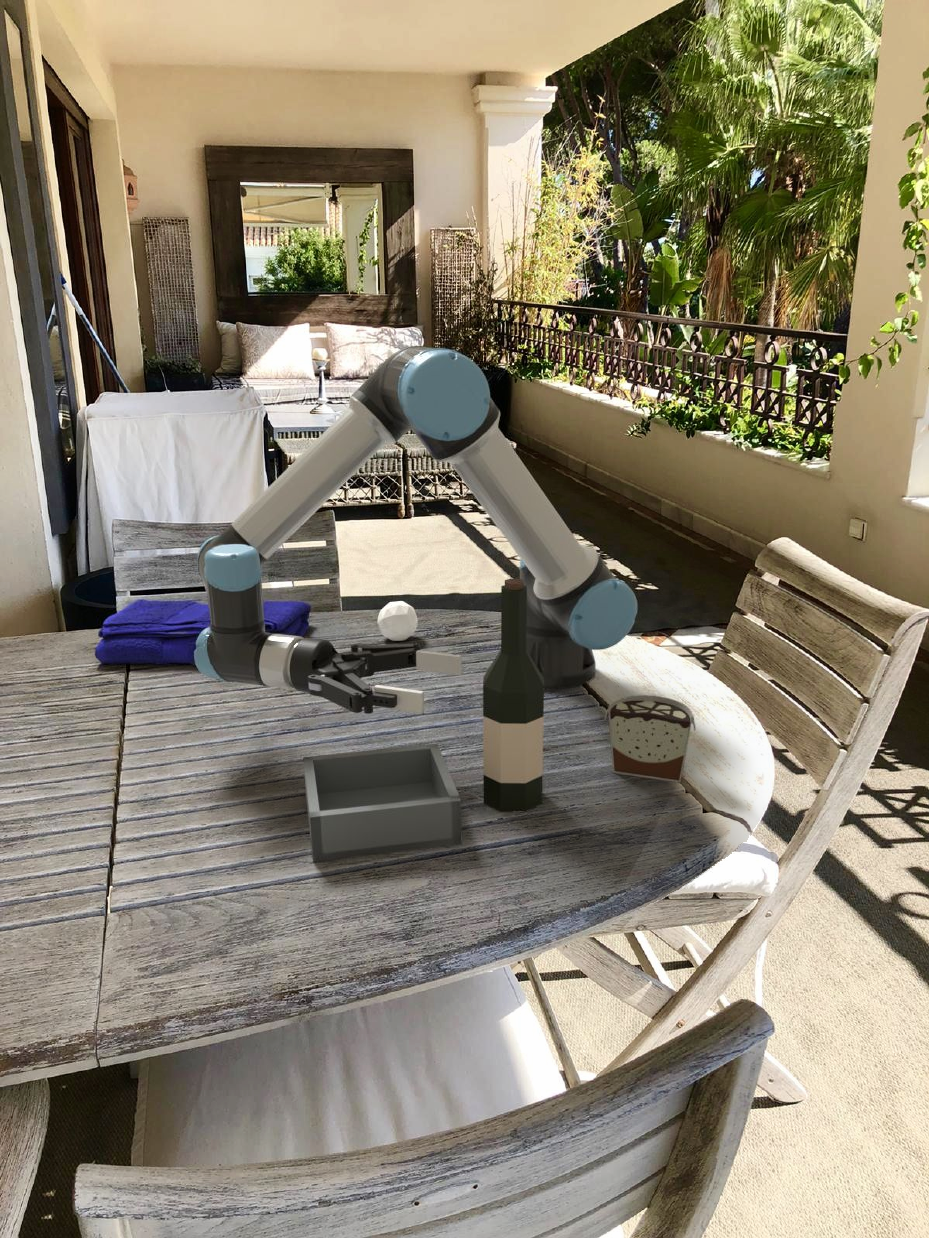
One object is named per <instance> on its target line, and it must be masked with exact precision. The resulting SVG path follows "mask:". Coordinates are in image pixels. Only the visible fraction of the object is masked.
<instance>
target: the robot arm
mask: <svg viewBox="0 0 929 1238" xmlns="http://www.w3.org/2000/svg"><path fill="white" fill-rule="evenodd" d="M490 391H491V390H490V386H489V382H488V380H487V378H486V375H485V374H484V372H483V371H482V369H481V368H480V367H479V365H477V364H476V363H475V362H474V361H473V360H472V359H471V358H470V357H468V356H466V355H464V354H462V353H461V352H459V351H457V350H453V349H449V348H444V347H435V348H434V347H429V346H424V345H412V346H407V347H404V348H402V349H399V350H398V351H396V352H394V353H393V354H392V355H390V356H389V357H388V358H386V360H385V361H384V362H383V363H381V364H380V365H379V366H378V368H377V369H376V370H375V371H374V372H373V373H371V374H370V376H369V377H368V378H367V379H366V380H365V381H364V382H363V383H362V384H361V385H360V386H359V387H358V388H357V389H356V390H355V392H353V393H352V395H350V397H349V398H348V399H349V406H348V407H347V409H346V410H345V411H344V412H343V413H342V414H341V415H340V416H339V417H338V418H337V419H336V420H334V422H332V424H331V425H330V426H329V427H328V428H327V429H326V430H325V431H324V432H322V434H321V435H320V436H319V437H317V438H316V440H314V442H313V443H311V445H310V446H309V447H308V448H306V449H305V451H304V452H302V453H301V454H300V455H299V456H298V457H297V458H296V459H295V461H293V462H292V464H290V466H288V467H287V468H286V469H285V470H284V471H283V472H282V473H281V475H279V476H278V478H276V479H275V480H274V481H273V482H272V483H271V484H270V485H269V486H268V487H267V488H266V489H265V490H264V491H263V492H262V493H261V494H260V495H259V496H258V497H257V498H256V499H255V500H254V501H253V502H252V503H251V504H250V505H249V506H248V507H247V508H246V509H245V510H243V512H242V513H240V515H239V516H237V518H236V519H235V520H234V521H232V523H231V524H230V525H229V526H227V528H225V529H224V530H223V531H222V532H221V534H218V535H214V536H212V537H210V538H207V540H205V541H204V542H203V543H202V544H201V546H200V547H199V550H198V552H197V560H196V565H197V566H196V568H197V571H198V574H199V576H200V577H201V579H202V583H203V586H204V589H205V592H206V596H207V604H208V606H209V614H210V627H208V628H206V629H204V630H203V631H202V632H201V633H200V635H199V636H198V638H197V641H196V646H197V647H196V650H195V651H194V659H195V663H196V665H195V666H196V669H198V671H199V672H200V673H201V674H202V675H203V676H205V677H207V678H211V679H216V680H220V681H224V682H227V683H239V684H240V683H241V684H249V685H256V686H263V687H269V688H276V689H280V691H283V692H287V690H290V691H291V690H292V691H298V692H300V693H309V695H310V696H315V697H319V698H323V699H325V700H327V701H329V702H331V703H333V704H335V705H338V706H340V707H342V708H344V709H345V710H348V711H350V712H352V713H354V714H359V713H362V712H364V714H367V715H369V714H373V712H374V707H375V708H381V709H383V708H384V709H387V710H388V709H391V710H396V711H404V712H408V713H409V712H410V713H417V714H423V713H424V712H425V692H424V691H423V690H416V689H409V688H401V687H392V686H387V685H380V684H376V685H375V686H374V688H372V686H370V685H369V684H368V683H366V682H365V681H363V678H368V677H372V676H373V675H375V673H381V672H386V671H395V670H404V669H409V668H411V669H412V668H416V669H415V670H416V671H421V672H429V673H438V674H445V675H453V676H459V677H460V676H461V675H462V674H463V671H462V670H463V669H462V661H463V659H462V655H461V654H454V653H453V654H452V653H447V652H446V653H444V652H437V651H430V650H429V651H428V650H421V644H420V643H417V642H414V643H397V644H395V643H394V644H393V643H391V644H373V645H372V644H371V645H369V644H368V645H365V644H352V645H350V650H349V651H343V652H338V650H336V649H335V647H334V645H333V644H332V642H331V641H330V640H327V639H320V638H313V637H304V636H303V637H300V636H292V635H282V634H273V633H267V632H265V620H264V613H263V600H264V599H263V598H264V597H263V596H264V595H263V585H262V584H263V582H262V580H263V579H262V578H263V577H262V576H263V570H262V568H261V567H262V566H263V564H264V563H266V562H267V561H268V559H270V557H272V555H274V554H275V552H276V551H277V550H279V549H280V547H281V546H282V545H283V544H284V543H286V541H287V540H288V539H289V538H291V536H293V534H294V533H296V532H297V531H298V530H299V529H300V528H301V527H302V526H303V525H304V524H305V523H306V522H307V521H308V520H309V519H310V518H311V517H312V516H313V515H314V514H316V512H317V511H318V510H319V509H321V507H322V506H323V505H324V504H325V503H326V502H327V501H328V500H330V498H331V497H332V496H333V495H334V494H336V493H337V492H338V491H339V489H340V488H342V486H343V485H345V484H346V483H347V482H348V480H350V478H352V476H354V475H355V474H356V473H357V472H358V471H359V470H360V469H361V468H362V467H363V466H364V465H365V464H366V463H367V462H368V461H369V460H370V459H371V458H373V456H374V455H375V454H376V453H378V451H379V450H380V449H381V448H382V447H383V446H384V445H395V444H396V443H397V442H398V441H399V440H400V439H401V438H402V437H403V436H404V435H406V434H407V433H408V432H410V431H412V432H413V433H414V434H415V436H416V437H417V438H418V440H419V441H420V443H422V445H423V447H424V448H425V449H426V451H428V453H429V455H431V457H432V459H433V460H434V461H435V462H441V463H449V464H450V465H451V466H452V468H453V469H454V470H455V472H456V473H457V475H458V476H459V477H460V478H461V480H462V481H463V483H464V484H465V485H466V487H467V488H468V489H469V491H470V492H471V493H472V495H473V496H474V498H475V499H476V500H477V502H478V503H479V504H480V505H481V507H482V508H483V509H484V511H485V513H486V514H487V516H489V518H490V519H491V520H492V522H493V524H494V525H495V526H496V528H497V529H498V530H499V531H500V532H501V534H502V535H503V537H504V538H505V539H506V541H507V542H508V544H509V545H510V546H511V547H512V549H513V550H514V552H515V553H516V554H517V556H518V557H519V558H520V561H519V566H518V570H519V579H521V580H523V585H524V586H527V620H526V650H527V652H528V653H529V655H530V656H531V658H532V660H533V661H534V663H535V664H536V666H537V668H538V669H539V671H540V673H541V674H542V676H543V681H544V689H567V688H568V689H569V688H573V687H574V688H575V687H578V686H582V685H585V684H586V683H589V682H590V681H593V679H594V678H595V677H596V659H595V656H594V652H593V650H594V651H599V650H606V649H609V648H613V647H614V646H615V645H617V644H619V643H620V642H622V640H623V639H625V637H626V636H627V635H628V634H629V633H630V631H631V629H632V628H633V626H634V624H635V622H636V620H635V619H636V616H637V614H638V600H637V598H636V595H635V593H634V591H633V590H632V589H631V587H630V586H629V584H627V583H625V581H623V580H622V579H619V578H618V579H617V577H615V576H614V573H612V571H611V570H610V569H609V567H608V566H607V564H606V562H605V561H604V559H603V558H602V557H601V555H600V554H599V553H598V551H597V550H596V549H595V548H593V547H591V546H586V545H583V544H580V543H579V542H578V540H577V538H576V537H575V535H574V534H573V532H572V531H571V530H570V528H569V527H568V526H567V524H566V523H565V521H564V520H563V519H562V516H561V515H560V514H559V513H558V511H557V510H556V508H555V507H554V505H553V504H552V503H551V501H550V500H549V498H548V497H547V496H546V494H545V493H544V491H543V490H542V489H541V487H540V486H539V484H538V483H537V481H536V480H535V479H534V477H533V475H532V474H531V473H530V471H529V470H528V469H527V466H525V464H524V463H523V461H522V460H521V458H520V456H519V455H518V454H517V453H516V450H514V448H513V446H512V445H511V444H510V443H509V441H508V440H507V438H506V437H505V435H504V434H503V432H502V431H501V429H500V427H499V422H500V417H501V411H500V409H499V408H498V406H497V405H496V404H495V402H494V401H493V399H492V397H491V392H490Z"/></svg>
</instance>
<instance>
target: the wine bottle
mask: <svg viewBox="0 0 929 1238" xmlns="http://www.w3.org/2000/svg"><path fill="white" fill-rule="evenodd" d="M500 589H501V590H500V591H501V592H500V595H501V596H500V598H501V599H500V600H501V601H500V603H501V604H500V608H501V609H500V611H501V613H500V614H501V615H500V616H501V617H500V619H501V620H500V622H501V624H500V625H501V626H500V627H501V628H500V630H501V631H500V635H501V636H500V639H501V640H500V643H501V644H500V647H501V648H500V650H499V651H498V653H497V655H496V656H495V658H494V660H493V661H492V663H491V664H490V666H489V668H488V669H487V670H486V672H485V674H484V675H483V683H482V708H483V709H482V712H483V713H482V719H483V720H482V725H483V726H482V728H483V731H482V735H483V736H482V738H483V739H482V741H483V742H482V743H483V745H482V746H483V750H482V751H483V752H482V753H483V757H482V758H483V763H482V765H483V769H482V770H483V773H482V775H483V781H482V782H483V804H485V805H486V806H489V807H491V808H492V809H495V811H499V812H501V813H502V812H503V813H504V812H505V813H512V812H513V811H516V812H515V813H518V812H517V811H526V812H528V811H530V810H532V809H534V808H536V807H538V806H540V805H542V804H543V778H544V777H543V774H544V773H543V770H544V768H543V765H544V762H543V761H544V714H545V713H544V710H545V709H544V707H545V704H544V703H545V700H544V699H545V688H544V681H543V676H542V674H541V673H540V671H539V669H538V668H537V666H536V664H535V663H534V661H533V660H532V658H531V656H530V655H529V653H528V652H527V650H526V620H527V586H524V585H523V580H521V579H520V578H507V579H505V580H504V584H503V585H501V588H500ZM541 803H542V804H541ZM539 804H540V805H539ZM537 805H538V806H537ZM531 808H532V809H531ZM529 809H530V810H529ZM527 810H528V811H527ZM513 813H514V812H513Z"/></svg>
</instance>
